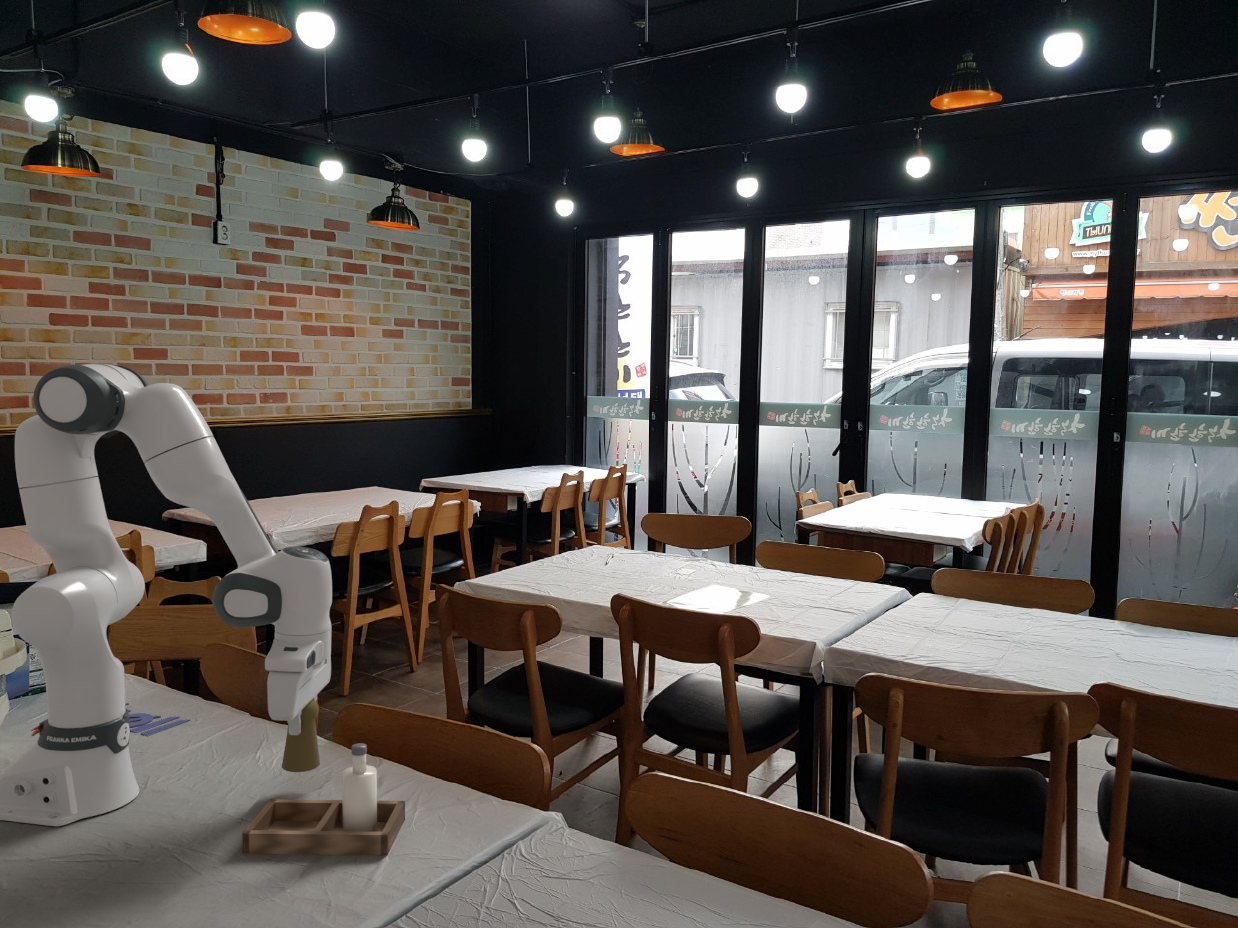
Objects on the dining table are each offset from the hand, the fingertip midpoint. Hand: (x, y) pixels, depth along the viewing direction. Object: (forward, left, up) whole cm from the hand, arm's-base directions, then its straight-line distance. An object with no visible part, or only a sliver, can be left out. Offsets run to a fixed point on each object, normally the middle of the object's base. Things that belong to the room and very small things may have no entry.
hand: (301, 727), depth 153 cm
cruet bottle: (+14, -15, -11) cm, 23 cm away
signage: (-49, +36, -13) cm, 62 cm away
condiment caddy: (+9, -15, -12) cm, 21 cm away
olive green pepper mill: (0, 0, -7) cm, 7 cm away
